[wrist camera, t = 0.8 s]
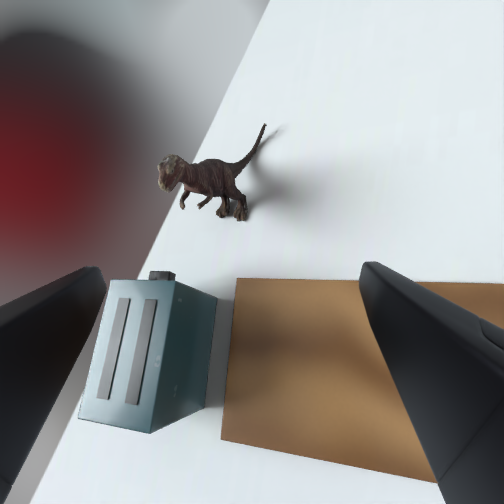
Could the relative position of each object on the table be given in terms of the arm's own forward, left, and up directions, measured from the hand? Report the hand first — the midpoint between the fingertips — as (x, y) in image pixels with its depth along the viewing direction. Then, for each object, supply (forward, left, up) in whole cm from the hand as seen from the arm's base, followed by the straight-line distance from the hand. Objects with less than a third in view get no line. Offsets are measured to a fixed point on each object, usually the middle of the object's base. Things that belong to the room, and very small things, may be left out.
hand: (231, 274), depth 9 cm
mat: (-3, -5, -17) cm, 18 cm away
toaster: (-3, +11, -17) cm, 21 cm away
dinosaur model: (+15, +7, -17) cm, 24 cm away
